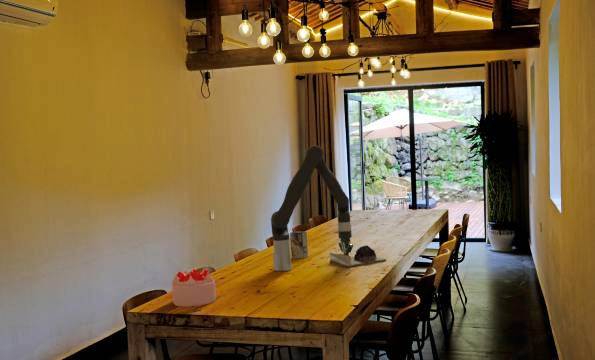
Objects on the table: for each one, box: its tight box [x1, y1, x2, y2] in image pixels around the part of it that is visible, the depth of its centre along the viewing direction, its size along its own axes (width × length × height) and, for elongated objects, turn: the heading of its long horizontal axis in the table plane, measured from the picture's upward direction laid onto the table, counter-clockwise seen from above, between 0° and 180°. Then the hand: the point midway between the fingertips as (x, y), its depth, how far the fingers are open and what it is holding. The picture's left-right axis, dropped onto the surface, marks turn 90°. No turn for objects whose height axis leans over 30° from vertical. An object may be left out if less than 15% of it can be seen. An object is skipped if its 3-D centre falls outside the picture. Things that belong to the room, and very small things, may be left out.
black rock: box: [353, 244, 377, 261], centre depth 354 cm, size 13×14×10 cm
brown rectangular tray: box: [329, 251, 387, 268], centre depth 352 cm, size 26×20×6 cm
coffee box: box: [289, 231, 309, 259], centre depth 381 cm, size 9×6×16 cm
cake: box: [171, 268, 217, 308], centre depth 282 cm, size 20×20×14 cm
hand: (346, 259), depth 349 cm, fingers closed
